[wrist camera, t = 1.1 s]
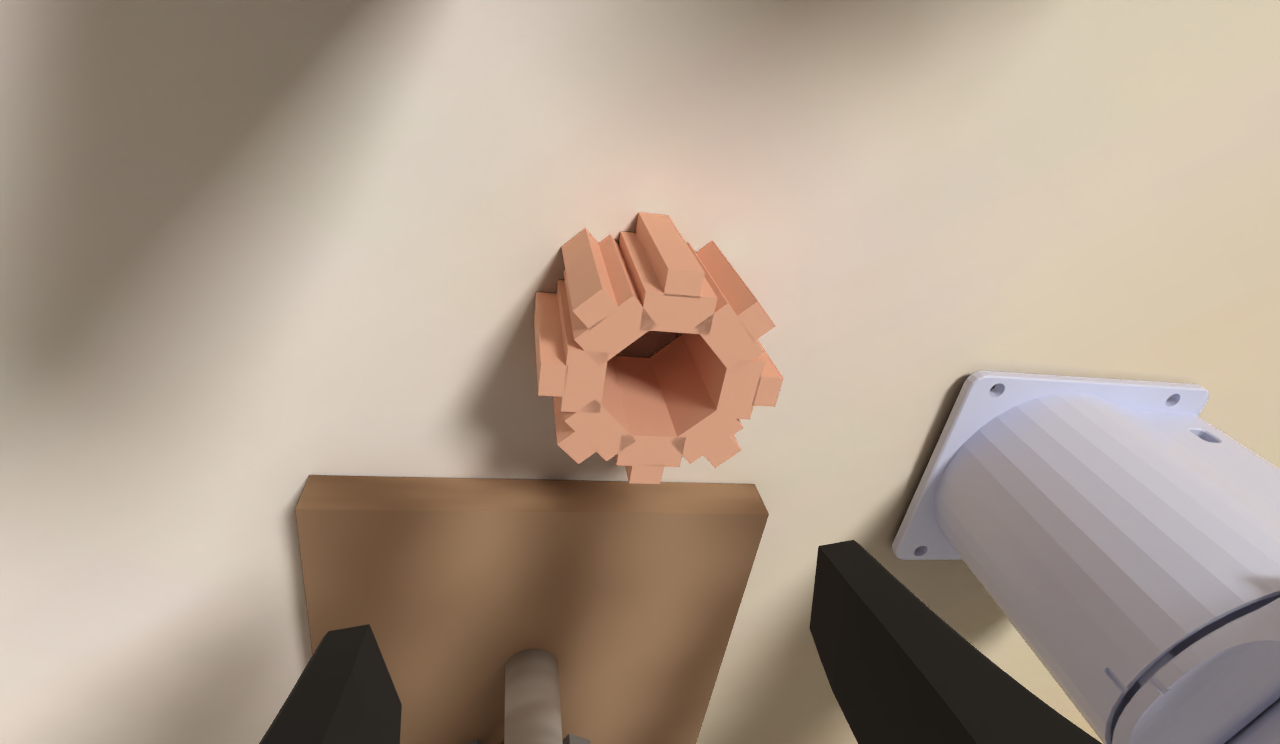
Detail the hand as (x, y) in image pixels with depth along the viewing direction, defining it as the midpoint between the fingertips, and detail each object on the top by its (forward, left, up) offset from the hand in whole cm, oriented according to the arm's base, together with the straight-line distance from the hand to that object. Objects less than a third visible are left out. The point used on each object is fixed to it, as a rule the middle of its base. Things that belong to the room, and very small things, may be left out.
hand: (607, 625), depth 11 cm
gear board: (0, +16, -10) cm, 18 cm away
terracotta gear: (-2, -1, -10) cm, 10 cm away
